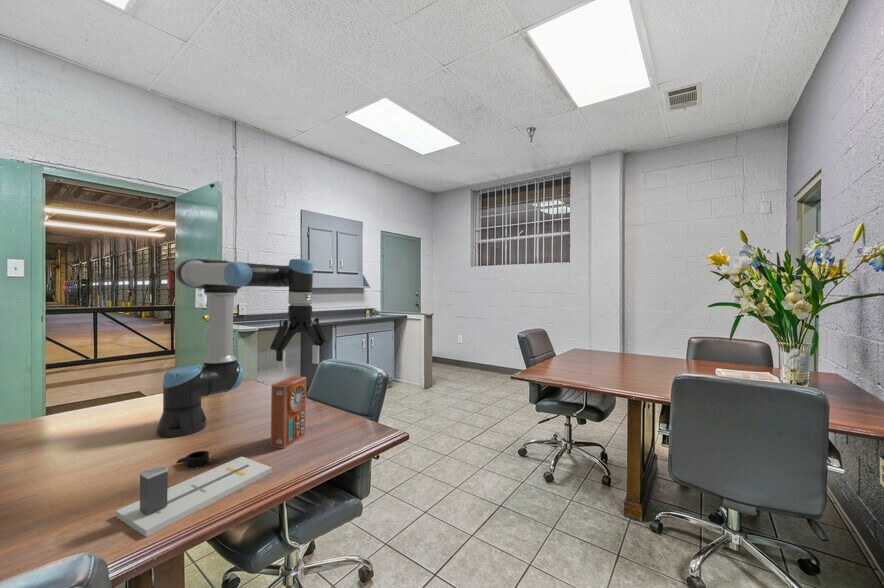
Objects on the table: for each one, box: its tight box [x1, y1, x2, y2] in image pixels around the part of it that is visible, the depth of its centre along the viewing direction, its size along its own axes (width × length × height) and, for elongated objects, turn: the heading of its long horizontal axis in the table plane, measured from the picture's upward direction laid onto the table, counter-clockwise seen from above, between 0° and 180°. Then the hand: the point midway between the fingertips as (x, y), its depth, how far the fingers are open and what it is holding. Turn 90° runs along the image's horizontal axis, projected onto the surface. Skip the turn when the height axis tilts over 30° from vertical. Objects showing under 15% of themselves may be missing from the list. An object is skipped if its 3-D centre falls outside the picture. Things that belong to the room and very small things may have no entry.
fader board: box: [115, 456, 273, 538], centre depth 94 cm, size 14×31×2 cm, turn 153°
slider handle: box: [139, 464, 169, 515], centre depth 84 cm, size 4×4×9 cm
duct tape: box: [175, 450, 219, 469], centre depth 109 cm, size 8×10×3 cm
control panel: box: [270, 375, 307, 449], centre depth 127 cm, size 21×7×15 cm
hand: (299, 367), depth 121 cm, fingers open, 13 cm apart
